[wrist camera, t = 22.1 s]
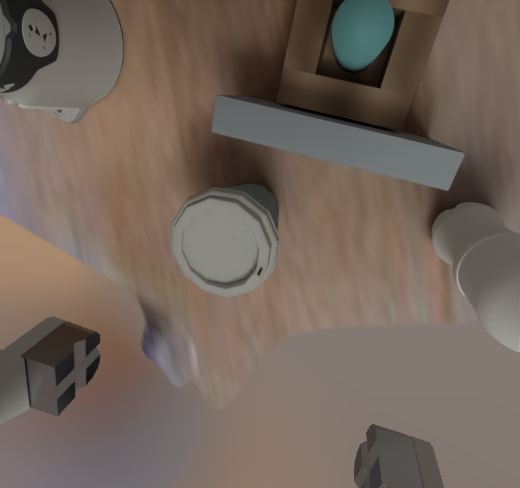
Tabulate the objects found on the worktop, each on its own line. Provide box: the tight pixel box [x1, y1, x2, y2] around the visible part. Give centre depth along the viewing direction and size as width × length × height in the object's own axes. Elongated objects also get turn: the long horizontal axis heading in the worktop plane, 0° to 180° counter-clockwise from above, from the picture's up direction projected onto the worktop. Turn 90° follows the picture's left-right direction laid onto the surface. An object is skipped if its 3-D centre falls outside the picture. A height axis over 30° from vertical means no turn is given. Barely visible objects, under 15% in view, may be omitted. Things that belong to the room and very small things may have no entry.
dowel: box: [332, 0, 394, 73], centre depth 28 cm, size 4×4×12 cm
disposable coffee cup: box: [171, 183, 281, 297], centre depth 37 cm, size 11×11×15 cm
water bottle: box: [431, 202, 520, 353], centre depth 28 cm, size 7×7×25 cm
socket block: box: [276, 0, 449, 131], centre depth 32 cm, size 12×12×6 cm
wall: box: [211, 95, 465, 191], centre depth 33 cm, size 20×3×12 cm, turn 77°
